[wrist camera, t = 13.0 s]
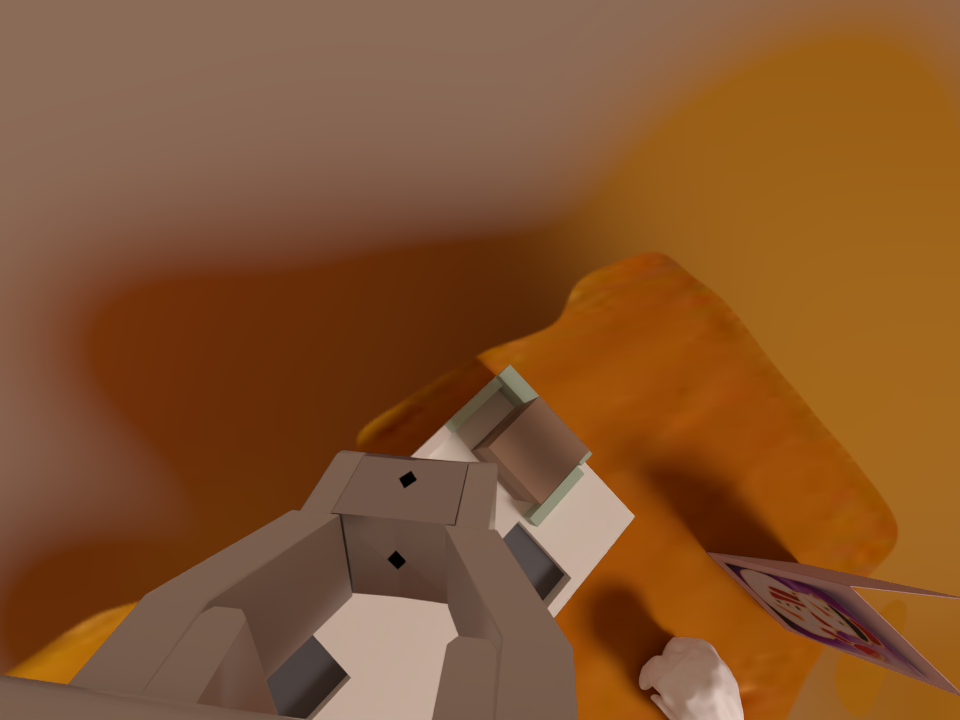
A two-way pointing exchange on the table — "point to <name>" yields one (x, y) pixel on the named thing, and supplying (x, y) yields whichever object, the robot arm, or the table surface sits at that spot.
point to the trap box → (428, 625)
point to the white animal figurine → (692, 682)
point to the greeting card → (832, 611)
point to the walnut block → (531, 451)
